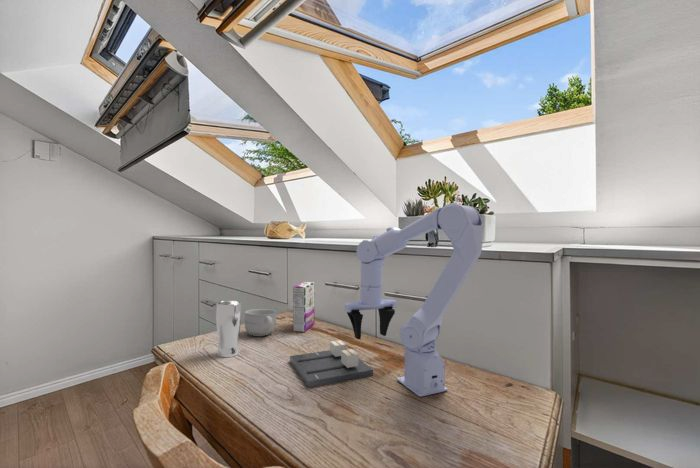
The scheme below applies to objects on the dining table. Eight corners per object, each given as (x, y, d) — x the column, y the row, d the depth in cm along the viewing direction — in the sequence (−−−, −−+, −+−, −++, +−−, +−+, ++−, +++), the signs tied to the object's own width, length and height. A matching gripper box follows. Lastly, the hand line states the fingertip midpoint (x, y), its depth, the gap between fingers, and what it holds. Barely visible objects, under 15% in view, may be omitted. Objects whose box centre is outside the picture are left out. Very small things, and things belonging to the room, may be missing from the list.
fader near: (358, 365, 86) (358, 353, 86) (347, 367, 85) (347, 355, 85) (351, 360, 90) (351, 348, 90) (341, 362, 88) (341, 350, 88)
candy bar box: (302, 323, 131) (303, 281, 131) (314, 324, 130) (315, 282, 130) (291, 331, 120) (292, 286, 120) (305, 332, 119) (305, 286, 119)
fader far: (345, 355, 93) (345, 344, 93) (335, 356, 92) (335, 345, 92) (339, 350, 97) (339, 339, 97) (330, 351, 96) (330, 340, 96)
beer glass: (244, 350, 101) (245, 300, 101) (234, 358, 95) (235, 305, 94) (222, 349, 102) (223, 299, 102) (210, 357, 95) (211, 304, 95)
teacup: (242, 331, 120) (242, 309, 120) (273, 328, 125) (273, 306, 125) (248, 343, 107) (248, 318, 107) (281, 339, 112) (282, 315, 112)
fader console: (373, 375, 85) (373, 369, 85) (308, 387, 78) (308, 381, 78) (345, 352, 100) (345, 347, 100) (289, 361, 93) (289, 355, 93)
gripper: (387, 282, 96) (386, 329, 96) (340, 284, 90) (339, 335, 90) (400, 285, 90) (399, 336, 90) (351, 289, 84) (350, 343, 84)
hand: (370, 336), depth 90 cm, fingers open, 7 cm apart
